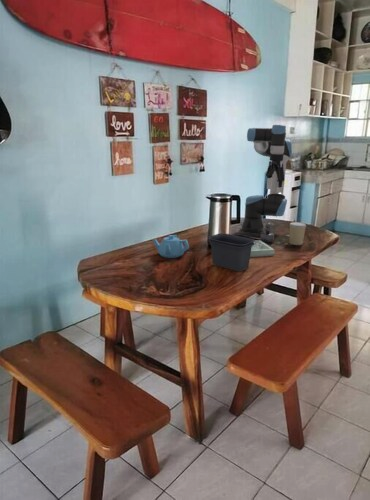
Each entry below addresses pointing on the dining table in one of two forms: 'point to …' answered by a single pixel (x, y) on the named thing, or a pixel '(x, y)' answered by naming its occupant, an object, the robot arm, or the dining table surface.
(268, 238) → the stake stand
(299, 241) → the coffee cup
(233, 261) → the storage bin
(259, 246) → the ring
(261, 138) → the robot arm
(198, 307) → the dining table surface
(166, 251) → the teapot
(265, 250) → the tray
